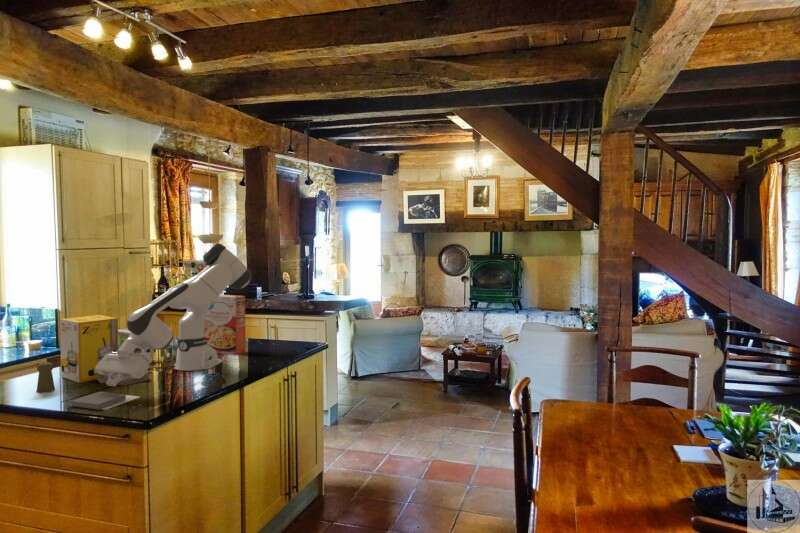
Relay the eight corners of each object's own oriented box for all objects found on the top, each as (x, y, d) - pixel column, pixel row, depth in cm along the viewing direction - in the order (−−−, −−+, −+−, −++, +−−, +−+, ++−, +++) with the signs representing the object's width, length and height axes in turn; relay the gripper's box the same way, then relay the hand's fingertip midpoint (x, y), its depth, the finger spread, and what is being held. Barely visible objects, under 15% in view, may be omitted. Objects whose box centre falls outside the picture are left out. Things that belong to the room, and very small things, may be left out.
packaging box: (118, 374, 230) (118, 318, 229) (79, 382, 217) (78, 322, 216) (100, 369, 239) (99, 314, 238) (61, 376, 226) (59, 319, 225)
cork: (42, 388, 208) (41, 361, 207) (58, 388, 209) (57, 360, 208) (32, 393, 202) (32, 364, 201) (49, 392, 202) (48, 364, 202)
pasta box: (199, 351, 279) (199, 295, 278) (209, 348, 287) (209, 294, 286) (235, 355, 272) (235, 297, 271) (245, 352, 280) (245, 295, 278)
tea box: (111, 360, 257) (110, 330, 256) (128, 356, 266) (128, 327, 266) (133, 363, 251) (133, 332, 251) (151, 359, 261) (150, 329, 260)
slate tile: (99, 391, 196) (71, 400, 184) (125, 394, 192) (98, 404, 181) (99, 396, 196) (71, 406, 185) (125, 400, 192) (98, 410, 181)
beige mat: (107, 394, 201) (106, 392, 201) (140, 398, 197) (140, 396, 197) (69, 406, 186) (69, 404, 186) (105, 411, 181) (105, 409, 181)
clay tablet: (87, 383, 217) (123, 388, 210) (87, 371, 217) (123, 376, 210) (117, 376, 230) (151, 380, 223) (117, 365, 230) (151, 369, 223)
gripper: (104, 347, 202) (82, 378, 193) (147, 350, 196) (127, 383, 187) (113, 356, 207) (93, 387, 198) (156, 360, 201) (137, 392, 192)
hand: (110, 385), depth 193 cm, fingers closed
